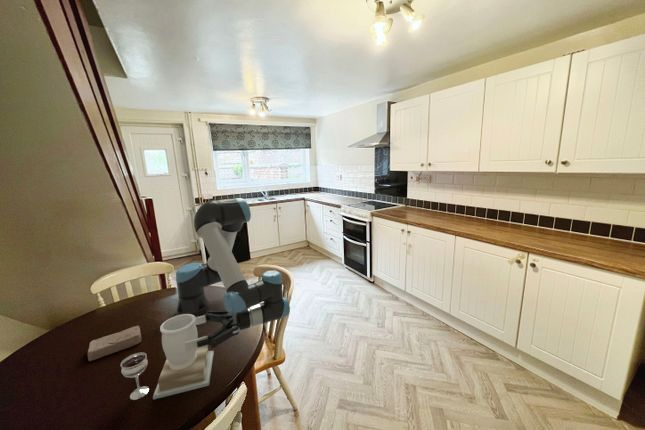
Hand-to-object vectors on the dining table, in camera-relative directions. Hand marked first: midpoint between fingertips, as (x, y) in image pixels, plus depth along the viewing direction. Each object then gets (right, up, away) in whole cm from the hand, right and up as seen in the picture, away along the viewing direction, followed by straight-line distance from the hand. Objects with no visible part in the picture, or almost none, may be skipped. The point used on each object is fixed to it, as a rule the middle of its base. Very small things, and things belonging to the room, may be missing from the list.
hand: (185, 334), depth 86 cm
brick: (-37, -14, +17) cm, 43 cm away
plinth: (-1, -15, +3) cm, 15 cm away
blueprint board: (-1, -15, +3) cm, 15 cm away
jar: (-1, -10, +1) cm, 11 cm away
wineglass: (-12, -17, -5) cm, 21 cm away
